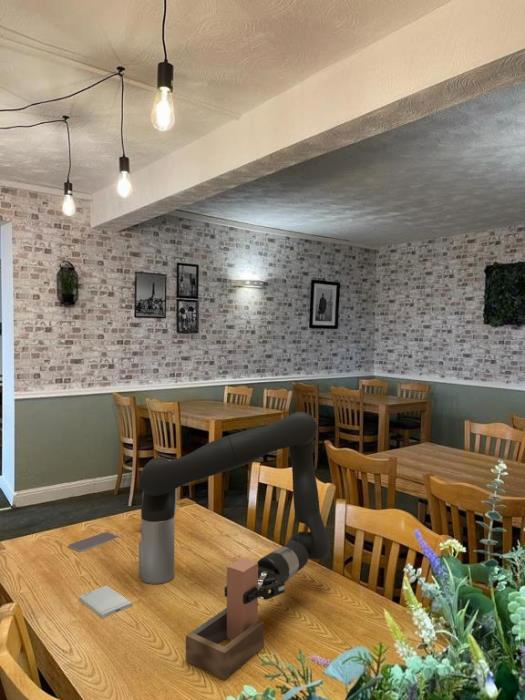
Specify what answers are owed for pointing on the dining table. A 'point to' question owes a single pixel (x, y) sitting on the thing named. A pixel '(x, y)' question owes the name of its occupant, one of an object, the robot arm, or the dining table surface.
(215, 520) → the dining table surface
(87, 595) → the hard drive
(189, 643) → the book slot
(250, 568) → the reddish pink rectangular block
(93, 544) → the smartphone
